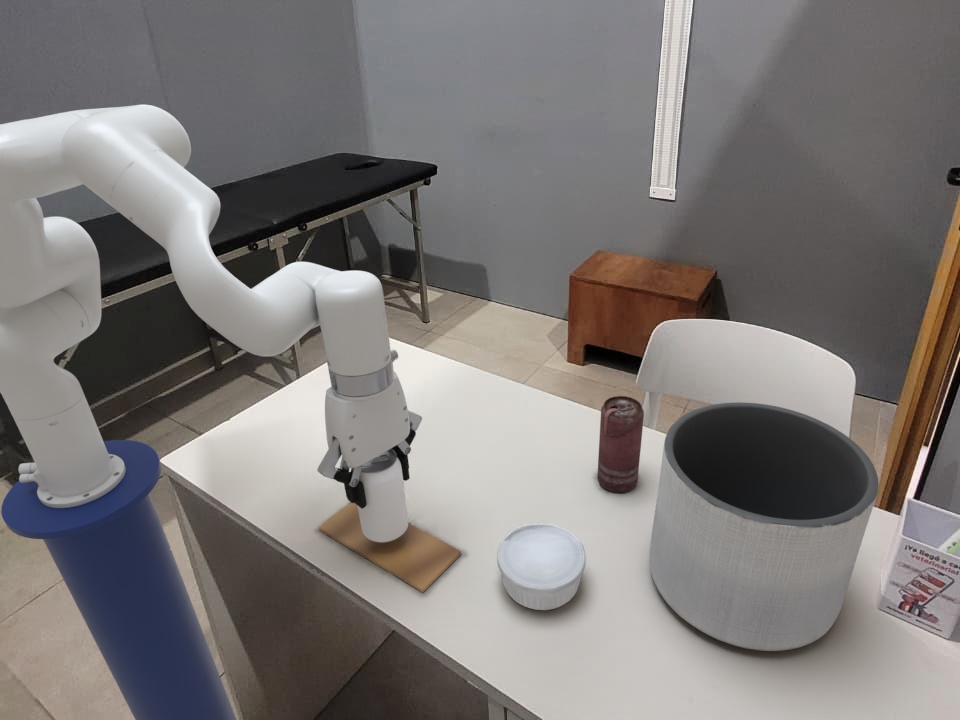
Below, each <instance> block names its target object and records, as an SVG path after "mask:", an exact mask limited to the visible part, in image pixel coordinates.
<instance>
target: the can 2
mask: <svg viewBox="0 0 960 720" xmlns="http://www.w3.org/2000/svg"><path fill="white" fill-rule="evenodd" d="M644 417H645V410H644V408H643V406H642V404H641V402H640V401H638V400H637V399H635V398H633V397H630V396H626V395H615V396H612V397H609V398H607V399H606V400H604V402H603V405H602V406H601V408H600V422H599V423H600V424H599V438H598V439H599V440H598V458H597V460H598V461H597V475H596V476H597V478H596V479H597V481H598V483H599V484H600V485H601V487H602V488H603V489H605V490H607V491H609V492H613V493H619V494H620V493H626V492H629V491H631V490H632V489H634V487H636V485H637V483H638V479H639V470H640V459H641V448H642V438H643V429H644Z"/></svg>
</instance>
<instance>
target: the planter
mask: <svg viewBox="0 0 960 720" xmlns="http://www.w3.org/2000/svg"><path fill="white" fill-rule="evenodd" d="M657 487H658V488H657V494H656V496H657V497H656V501H655V510H654V515H653V516H654V517H653V523H652V529H651V536H650V537H651V538H650V545H649V567H650V574H651V578H652V579H653V583H654V585H655V587H656V590H657V591H658V593H659V594H660V596H661V597H662V599H663V600H664V601H665V602H666V604H667V605H668V606H669V607H670V608H671V610H673V612H675V613H676V614H677V615H678V616H679V617H680V618H681V619H683V621H685V622H686V623H687V624H689V625H691V626H692V627H694V628H695V629H697V630H698V631H700V632H701V633H703V634H704V635H707V636H709V637H711V638H713V639H715V640H717V641H720V642H723V643H726V644H728V645H732V646H733V647H734V646H735V647H738V648H742V649H746V650H753V651H761V652H783V651H790V650H794V649H798V648H802V647H806V646H808V645H811V644H812V643H814V642H816V641H818V640H819V639H821V638H822V637H823V636H825V635H826V634H827V633H828V631H829V630H830V629H831V628H832V627H833V625H834V624H835V622H836V621H837V619H838V616H839V614H840V612H841V609H842V607H843V604H844V601H845V598H846V594H847V591H848V587H849V585H850V580H851V578H852V575H853V571H854V568H855V565H856V562H857V560H858V555H859V552H860V548H861V545H862V542H863V539H864V536H865V533H866V530H867V527H868V523H869V521H870V518H871V514H872V511H873V508H874V506H875V502H876V499H877V496H878V492H879V478H878V472H877V470H876V467H875V466H874V463H873V461H872V460H871V458H870V457H869V456H868V454H867V453H866V452H865V451H864V450H863V448H861V447H860V446H859V445H858V444H857V443H856V442H855V441H853V440H852V439H851V438H850V437H849V436H847V434H844V433H843V432H842V431H840V430H838V429H837V428H835V427H833V426H832V425H829V423H826V422H824V421H821V420H819V419H817V418H815V417H813V416H810V415H808V414H805V413H802V412H799V411H795V410H792V409H790V408H786V407H781V406H776V405H772V404H764V403H756V402H723V403H722V402H721V403H716V404H715V403H714V404H709V405H706V406H702V407H698V408H695V409H692V410H691V411H689V412H686V413H685V414H683V415H682V416H680V417H679V418H678V419H677V420H675V421H674V422H673V423H672V425H671V426H670V427H669V428H668V430H667V432H666V435H665V438H664V442H663V450H662V456H661V465H660V474H659V481H658V486H657Z"/></svg>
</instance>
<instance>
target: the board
mask: <svg viewBox="0 0 960 720" xmlns="http://www.w3.org/2000/svg"><path fill="white" fill-rule="evenodd" d="M318 530H319V531H320V532H321V533H323V534H325V535H327V536H328V537H329V538H331V539H333V540H335V541H337V542H338V543H340V544H341V545H343V546H345V547H346V548H347V549H350V550H351V551H353V552H354V553H357V554H358V555H360V556H361V557H363V558H364V559H366V560H368V561H370V562H372V564H375V565H376V566H378V567H379V568H381V569H383V570H384V571H386V572H387V573H389V574H391V575H392V576H395V577H396V578H398V579H399V580H401V581H403V582H404V583H406V584H408V586H411V587H412V588H414V589H416V590H417V591H419V592H421V593H425V592H426V591H427V590H428V589H429V588H430V586H431V585H433V584H434V583H435V581H436V580H437V579H439V578H440V576H441V575H443V574H444V573H445V571H446V570H448V569H449V567H450V566H451V565H452V564H453V563H454V562H455V561H456V560H457V559H458V558H459V557H460V556H461V555H462V551H461V550H460V549H458V548H456V547H454V546H452V545H450V544H449V543H447V542H445V541H443V540H441V539H439V538H437V537H436V536H433V535H432V534H430V533H428V532H426V531H424V530H422V529H421V528H418V527H416V526H415V525H413V524H411V523H409V522H408V527H407V530H406V531H405V532H404V533H403V534H402V535H401V536H400V537H399V538H397V539H396V540H393V541H390V542H385V543H379V542H374V541H372V540H370V539H368V538H367V537H366V536H365V535H364V534H363V531H362V527H361V522H360V517H359V511H358V506H357V505H356V504H355V503H351V502H350V501H349V503H347V505H345V506H344V507H342V508H341V509H340V510H339V511H337V512H336V513H335V514H333V515H332V516H331V517H329V519H327V520H326V521H324V522H323V523H322V524H321V525H319V526H318Z"/></svg>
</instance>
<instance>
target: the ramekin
mask: <svg viewBox="0 0 960 720" xmlns="http://www.w3.org/2000/svg"><path fill="white" fill-rule="evenodd" d="M586 559H587V557H586V550H585V547H584V545H583V544H582V542H581V540H580V539H579V538H578V537H577V536H576V535H575V534H574V533H573V532H571V531H570V530H568V529H566V528H564V527H562V526H559V525H556V524H552V523H546V522H545V523H543V522H534V523H533V522H532V523H528V524H523V525H520V526H518V527H515V528H514V529H512V530H511V531H509V532H508V533H507V534H505V536H504V537H502V539H501V541H500V543H499V544H498V547H497V551H496V563H497V568H498V570H499V572H500V575H501V580H502V583H503V586H504V588H505V590H506V592H507V594H508V595H509V596H510V597H511V598H512V600H514V601H515V603H518V604H519V605H520V606H523V607H524V608H528V609H530V610H535V611H550V610H554V609H558V608H560V607H562V606H564V605H566V604H567V603H568V602H570V601H571V600H572V599H573V598H574V596H575V595H576V593H577V591H578V589H579V586H580V582H581V579H582V575H583V573H584V571H585V569H586V562H587V561H586Z"/></svg>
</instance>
